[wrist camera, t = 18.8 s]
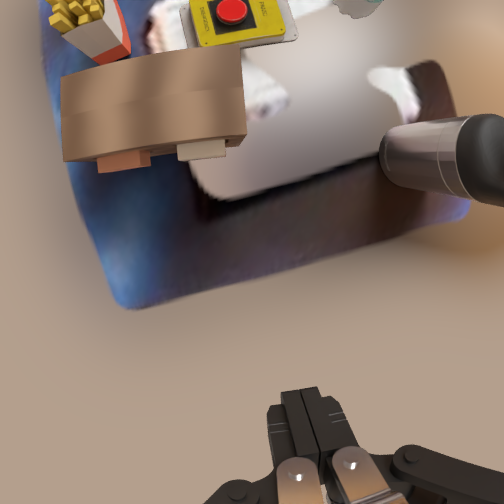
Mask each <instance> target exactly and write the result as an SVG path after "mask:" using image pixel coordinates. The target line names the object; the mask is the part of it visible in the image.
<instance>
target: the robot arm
mask: <svg viewBox="0 0 504 504" xmlns="http://www.w3.org/2000/svg"><path fill="white" fill-rule="evenodd" d="M379 160H380V164H381V168H382V170H383V172H384V174H385V175H386V176H387V178H388V179H389V180H390V181H391V182H393V183H394V184H396V185H398V186H401V187H406V188H412V189H416V190H422V191H427V192H433V193H438V194H443V195H448V196H453V197H457V198H462V199H467V200H472V201H477V202H481V203H485V204H491V205H496V206H500V207H504V118H503V117H501V116H498V115H495V114H480V115H470V116H462V117H455V118H447V119H440V120H433V121H426V122H419V123H412V124H406V125H401V126H396V127H394V128H391V129H390V130H389V131H388V132H387V133H386V134H385V135H384V136H383V138H382V141H381V143H380V147H379ZM267 425H268V437H269V444H270V449H271V455H272V460H273V466H274V469H273V471H272V472H271V473H270V474H269V475H268V476H266V477H265V478H263V479H261V480H259V481H256V482H253V483H251V482H249V481H246V480H232V481H228V482H226V483H225V484H223V485H222V486H221V487H220V488H219V489H218V490H217V491H216V492H215V493H214V494H213V495H212V496H211V497H210V498H209V499H208V500H207V501H206V502H205V503H204V504H324V501H323V496H322V491H321V486H320V485H322V484H325V487H326V490H327V494H326V500H327V503H328V504H504V473H502V472H499V471H495V470H491V469H487V468H484V467H481V466H477V465H474V464H471V463H467V462H465V461H461V460H458V459H455V458H452V457H449V456H446V455H443V454H440V453H438V452H434V451H432V450H429V449H426V448H423V447H421V446H418V445H405V446H402V447H401V448H399V449H398V450H397V451H396V452H395V454H392V455H374V454H370V453H368V452H367V451H366V450H364V449H363V448H361V447H360V446H359V445H358V443H357V440H356V438H355V436H354V434H353V432H352V430H351V428H350V425H349V423H348V421H347V420H346V417H345V414H344V413H343V410H342V408H341V406H340V404H339V402H338V401H336V400H335V399H334V398H333V397H331V396H327V397H321V395H320V392H319V390H318V388H317V387H310V388H305V389H299V390H292V391H285V392H281V404H279V405H271V406H270V408H269V410H268V412H267Z"/></svg>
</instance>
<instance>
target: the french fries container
mask: <svg viewBox="0 0 504 504" xmlns="http://www.w3.org/2000/svg"><path fill="white" fill-rule="evenodd" d="M45 1H47V2H48V3H49V4H50V5H52V11H53V12H54V13H55V14H54V15H53V16H51V17H49V21H50V25H51V26H53V27H54V28H56V29H57V30H59V31H60V33H61V36H62V37H63V38H64V39H66V40H67V41H68V42H70V43H71V44H73V45H74V46H75V47H77V48H78V49H79V50H81V51H82V52H83V53H85V54H86V55H87V56H89V57H90V58H91V59H93V60H94V61H95V62H97V63H98V64H99V65H105V64H109V63H111V62H114V61H116V60H118V59H120V58H122V57H125V56H127V55H129V54H131V42H130V39H129V35H128V32H127V28H126V25H125V21H124V17H123V15H122V12H121V10H120V7H119V5H118V2H117V0H45Z"/></svg>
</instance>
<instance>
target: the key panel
mask: <svg viewBox="0 0 504 504" xmlns="http://www.w3.org/2000/svg"><path fill="white" fill-rule="evenodd" d="M61 133H62V149H63V161H64V162H97V158H99V157H104V156H110V155H115V154H120V153H126V152H132V151H138V150H146V151H150V157H151V156H158V155H165V154H172V153H177V145H178V144H186V143H195V142H203V141H213V140H223V139H225V147H236V146H239V145H240V144H241V142H242V141H243V139H244V138H245V136H246V135H247V127H246V114H245V102H244V90H243V79H242V67H241V55H240V44H230V45H217V46H207V47H198V48H189V49H182V50H175V51H168V52H162V53H156V54H150V55H145V56H140V57H135V58H130V59H126V60H121V61H117V62H113V63H109V64H105V65H101V66H97V67H93V68H90V69H86V70H83V71H79V72H76V73H72V74H69V75H66V76H63V77H61Z"/></svg>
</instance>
